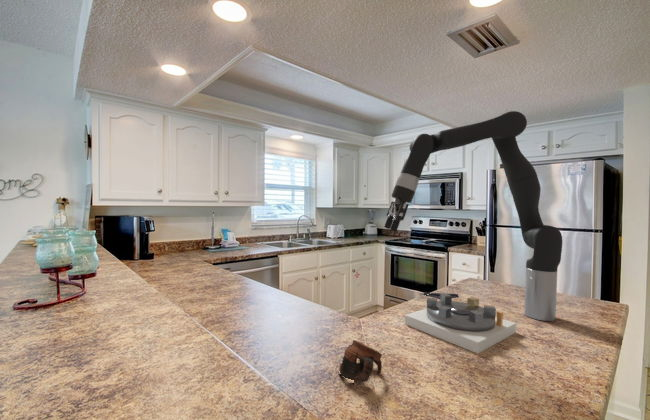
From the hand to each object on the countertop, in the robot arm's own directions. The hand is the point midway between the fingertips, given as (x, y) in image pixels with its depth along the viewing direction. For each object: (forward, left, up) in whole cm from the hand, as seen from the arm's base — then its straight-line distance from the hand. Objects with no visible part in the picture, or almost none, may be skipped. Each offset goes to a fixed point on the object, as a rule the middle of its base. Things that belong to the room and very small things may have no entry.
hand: (389, 229), depth 112 cm
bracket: (-30, +4, -31) cm, 44 cm away
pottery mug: (+38, +25, -31) cm, 55 cm away
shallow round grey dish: (-7, +23, -27) cm, 37 cm away
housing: (-7, +23, -30) cm, 39 cm away
